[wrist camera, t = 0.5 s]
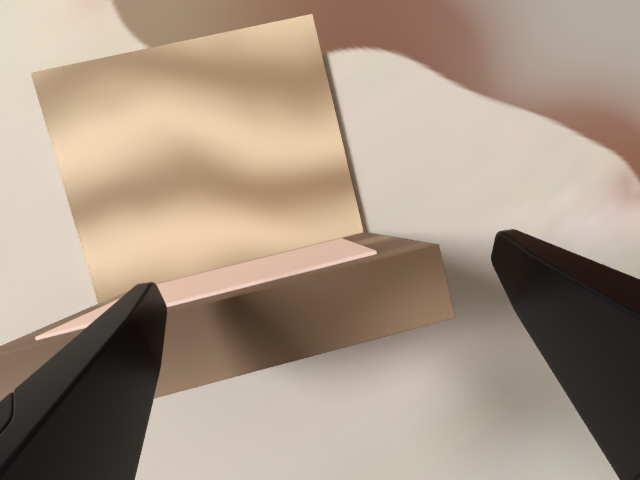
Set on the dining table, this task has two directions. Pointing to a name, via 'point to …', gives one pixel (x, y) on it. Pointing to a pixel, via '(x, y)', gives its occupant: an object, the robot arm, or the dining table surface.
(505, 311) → the dining table surface
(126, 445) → the robot arm
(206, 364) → the brown wooden slab
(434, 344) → the dining table surface
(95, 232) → the light tan wooden board
